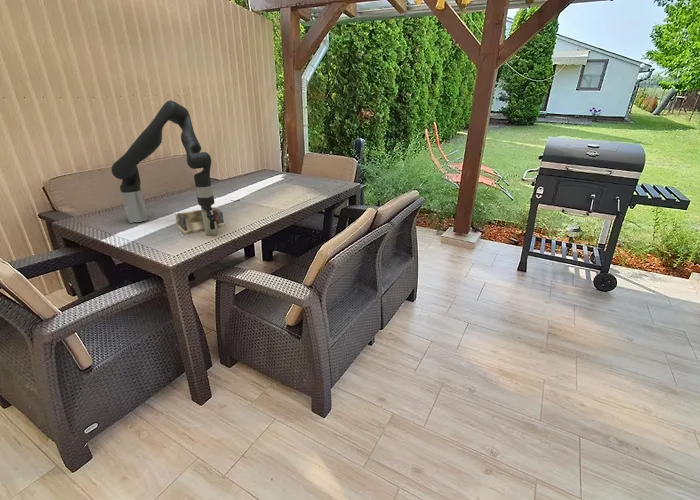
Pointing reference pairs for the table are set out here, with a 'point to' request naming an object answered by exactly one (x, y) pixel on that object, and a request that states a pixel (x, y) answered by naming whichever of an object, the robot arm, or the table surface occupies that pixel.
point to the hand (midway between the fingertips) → (210, 227)
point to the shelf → (196, 221)
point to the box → (208, 225)
